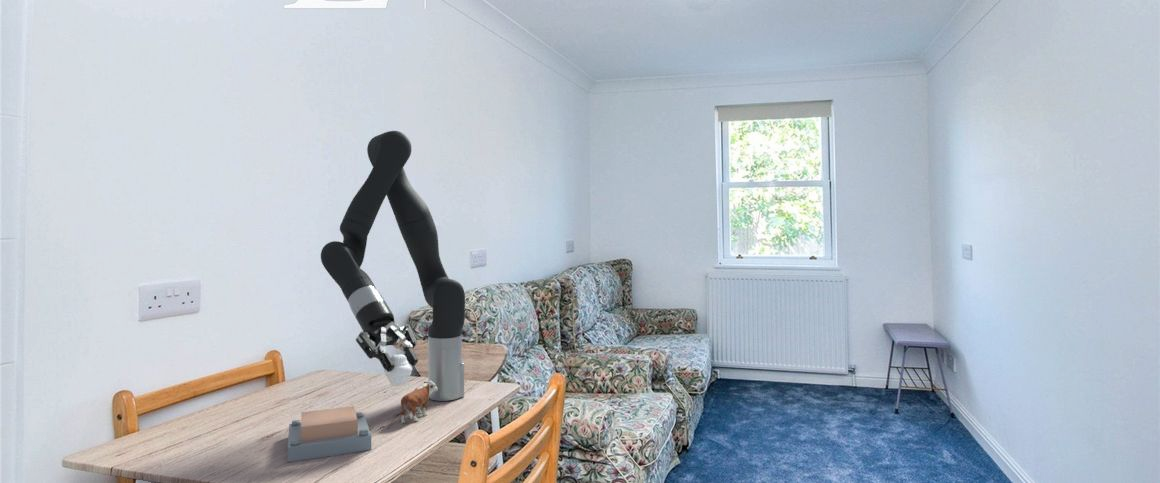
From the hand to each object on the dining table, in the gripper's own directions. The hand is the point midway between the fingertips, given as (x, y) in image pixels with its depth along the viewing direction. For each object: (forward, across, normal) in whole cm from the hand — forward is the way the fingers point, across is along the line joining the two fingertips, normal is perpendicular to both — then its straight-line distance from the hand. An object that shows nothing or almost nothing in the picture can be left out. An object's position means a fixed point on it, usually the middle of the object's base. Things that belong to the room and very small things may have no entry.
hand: (403, 366), depth 133 cm
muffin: (+2, 0, +4) cm, 5 cm away
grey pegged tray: (+4, -12, +19) cm, 23 cm away
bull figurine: (+5, +12, +18) cm, 22 cm away
